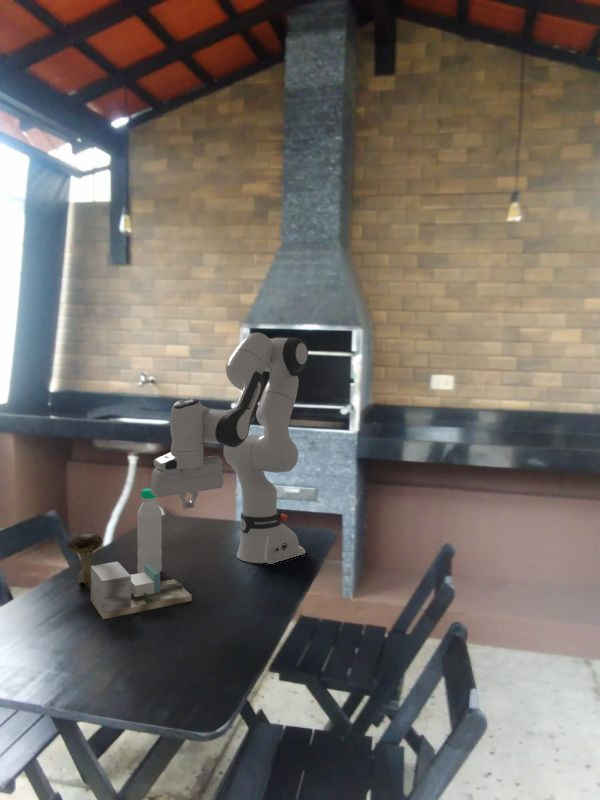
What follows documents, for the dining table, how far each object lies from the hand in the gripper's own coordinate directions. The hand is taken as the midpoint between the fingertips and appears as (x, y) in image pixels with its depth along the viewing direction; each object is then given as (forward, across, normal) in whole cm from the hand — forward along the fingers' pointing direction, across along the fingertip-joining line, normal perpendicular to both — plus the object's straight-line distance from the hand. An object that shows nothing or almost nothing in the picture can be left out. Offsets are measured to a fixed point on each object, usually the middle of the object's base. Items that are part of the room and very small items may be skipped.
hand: (188, 507), depth 173 cm
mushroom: (+22, +26, -13) cm, 36 cm away
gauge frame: (+22, +14, +3) cm, 27 cm away
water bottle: (+23, +6, -16) cm, 28 cm away
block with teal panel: (+19, +15, +5) cm, 24 cm away
